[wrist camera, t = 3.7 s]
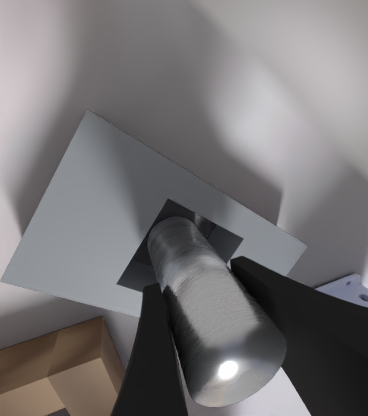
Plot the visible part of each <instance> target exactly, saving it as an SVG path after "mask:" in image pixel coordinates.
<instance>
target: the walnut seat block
mask: <svg viewBox="0 0 368 416" xmlns="http://www.w3.org/2000/svg"><path fill="white" fill-rule="evenodd" d="M124 376H125V371H124V368H123V366H122V363H121V361H120V358H119V356H118V353H117V351H116V348H115V346H114V343H113V340H112V338H111V335H110V333H109V330H108V328H107V325H106V323H105V320H104V318H103V316H100V317H97V318H94V319H91V320H88V321H86V322H83V323H80V324H77V325H74V326H71V327H68V328H65V329H62V330H59V331H56V332H53V333H50V334H47V335H44V336H41V337H38V338H35V339H32V340H29V341H26V342H23V343H20V344H17V345H14V346H11V347H8V348H5V349H2V350H0V416H45V415H48V414H50V413H53V412H55V411H58V410H60V409H63V408H66V409H67V411H68V413H69V414H70V416H110V415H111V412H112V410H113V407H114V404H115V402H116V399H117V397H118V394H119V391H120V388H121V385H122V382H123V379H124Z"/></svg>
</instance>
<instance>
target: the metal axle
mask: <svg viewBox="0 0 368 416" xmlns="http://www.w3.org/2000/svg"><path fill="white" fill-rule="evenodd" d="M147 243H148V250H149V254H150V257H151V261H152V264H153V268H154V271H155V275H156V278H157V282H159V284H160V287H161V290H162V293H163V297H164V301H165V306H166V310H167V314H168V319H169V324H170V328H171V332H172V335H173V339H174V342H175V346H176V349H177V353H178V356H179V360H180V364H181V367H182V371H183V374H184V378H185V381H186V385H187V388H188V392H189V394H190V396H191V398H192V399H193V400H194V401H195V402H197V403H198V404H201V405H203V406H208V407H222V406H227V405H231V404H234V403H237V402H239V401H242V400H244V399H246V398H248V397H250V396H251V395H253V394H255V393H256V392H257V391H259V390H260V389H261V388H263V387H264V386H265V385H266V384H267V383H268V382H269V381H270V380H271V379H272V378H273V377H274V376H275V374H276V373H277V372H278V370H279V368H280V367H281V365H282V363H283V361H284V358H285V355H286V348H287V347H286V340H285V338H284V336H283V334H282V333H281V332H280V330H279V329H278V328H277V327H276V325H275V324H274V323H273V322H272V320H271V319H270V318H269V317H268V315H267V314H266V313H265V312H264V311H263V309H262V308H261V307H260V306H259V304H258V303H257V302H256V301H255V299H254V298H253V297H252V296H251V294H250V293H249V292H248V291H247V289H246V288H245V287H244V286H243V284H242V283H241V282H240V281H239V279H238V278H237V277H236V276H235V274H234V273H233V272H232V271H231V270H230V268H229V267H228V266H227V265H226V263H225V262H224V261H223V260H222V258H221V257H220V256H219V255H218V253H217V252H216V251H215V250H214V248H213V247H212V246H211V245H210V243H209V242H208V241H207V240H206V238H205V237H204V236H203V235H202V233H201V232H200V231H199V230H198V229H197V227H196V226H195V225H194V224H193V223H192V222H191V221H190V220H188V219H186V218H183V217H170V218H167V219H164V220H162V221H161V222H159V223H158V224H157V225H156V226H155V227H154V228H153V229H152V230H151V232H150V234H149V237H148V242H147Z"/></svg>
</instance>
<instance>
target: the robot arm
mask: <svg viewBox="0 0 368 416" xmlns="http://www.w3.org/2000/svg"><path fill="white" fill-rule="evenodd" d="M230 266H231V271H232V272H233V273H234V274H235V276H236V277H237V278H238V279H239V281H240V282H241V283H242V284H243V286H244V287H245V288H246V289H247V291H248V292H249V293H250V294H251V296H252V297H253V298H254V299H255V301H256V302H257V303H258V304H259V306H260V307H261V308H262V309H263V311H264V312H265V313H266V314H267V315H268V317H269V318H270V319H271V320H272V322H273V323H274V324H275V325H276V327H277V328H278V329H279V330H280V332H281V333H282V334H283V336H284V338H285V340H286V347H287V348H286V355H285V358H284V361H283V363H282V365H281V367H282V368H283V370H284V371H285V373H286V374H287V376H288V377H289V379H290V381H291V382H292V384H293V386H294V387H295V389H296V391H297V392H298V394H299V396H300V397H301V399H302V401H303V402H304V404H305V406H306V407H307V409H308V411H309V413H310V414H311V416H368V288H366V287H364V286H363V285H361V284H360V282H361V276H360V275H358V274H352V275H349V276H347V277H344V278H342V279H339V280H336V281H334V282H331V283H329V284H326V285H323V286H321V287H318V288H315V289H313V288H310V287H308V286H306V285H303V284H301V283H298V282H296V281H294V280H292V279H290V278H287V277H285V276H283V275H281V274H279V273H277V272H275V271H273V270H271V269H269V268H267V267H265V266H263V265H261V264H259V263H257V262H255V261H253V260H251V259H249V258H247V257H245V256H239V257H236V258H233V259H230ZM142 293H143V295H142V306H141V313H140V319H139V324H138V329H137V334H136V338H135V342H134V345H133V349H132V353H131V357H130V360H129V364H128V367H127V370H126V373H125V376H124V379H123V382H122V385H121V388H120V391H119V394H118V397H117V399H116V402H115V404H114V407H113V410H112V412H111V415H110V416H188V412H187V407H186V402H185V397H184V391H183V386H182V380H181V375H180V369H179V364H178V359H177V353H176V348H175V342H174V339H173V335H172V332H171V328H170V324H169V319H168V314H167V310H166V306H165V301H164V297H163V293H162V290H161V287H160V284H159V282H158V283H155V284H152V285H148V286H145V287H144V288H143V290H142Z"/></svg>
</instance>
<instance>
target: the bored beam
mask: <svg viewBox="0 0 368 416" xmlns="http://www.w3.org/2000/svg"><path fill="white" fill-rule="evenodd" d="M167 199H170V200H172V201H174V202H176V203H178V204H180V205H182V206H183V207H185V208H187V209H189V210H191V211H193V212H195V213H197V214H198V215H200V216H202V217H204V218H206V219H208V220H210V221H212V222H213V223H215V224H217V225H216V226H215V228H214V229H213V231H212V232H211V234H210V235H209V237H208V239H207V241H208V242H209V243H210V245H211V246H212V247H213V248H214V250H215V251H216V252H217V253H218V255H219V256H220V257H221V258H222V260H223V261H224V262H225V263H226V265H227V266H228V267H229V268H230V270H231V266H230V259H233V258H236V257H239V256H245V257H247V258H249V259H251V260H253V261H255V262H257V263H259V264H261V265H263V266H265V267H267V268H269V269H271V270H273V271H275V272H277V273H279V274H281V275H283V276H285V277H286V275H287V274H288V273H289V271H290V270H291V269H292V267H293V266H294V265H295V263H296V262H297V261H298V259H299V258H300V256H301V255H302V254H303V252H304V251H305V250H306V248H307V247H308V245H306V244H304V243H303V242H301V241H300V240H298V239H296V238H295V237H293V236H292V235H290V234H289V233H287V232H285V231H284V230H282V229H281V228H279V227H277V226H276V225H274V224H273V223H271V222H269V221H268V220H266V219H264V218H263V217H261V216H260V215H258V214H256V213H255V212H253V211H252V210H250V209H248V208H247V207H245V206H243V205H242V204H240V203H239V202H237V201H235V200H234V199H232V198H230V197H229V196H227V195H226V194H224V193H222V192H221V191H219V190H218V189H216V188H214V187H213V186H211V185H209V184H208V183H206V182H205V181H203V180H201V179H200V178H198V177H196V176H195V175H193V174H192V173H190V172H188V171H187V170H185V169H183V168H182V167H180V166H179V165H177V164H175V163H174V162H172V161H171V160H169V159H167V158H166V157H164V156H162V155H161V154H159V153H158V152H156V151H154V150H153V149H151V148H149V147H148V146H146V145H145V144H143V143H141V142H140V141H138V140H137V139H135V138H133V137H132V136H130V135H128V134H127V133H125V132H124V131H122V130H120V129H119V128H117V127H115V126H114V125H112V124H111V123H109V122H107V121H106V120H104V119H103V118H101V117H99V116H98V115H96V114H94V113H93V112H91V111H89V110H87V111H86V113H85V115H84V117H83V119H82V121H81V123H80V124H79V126H78V128H77V130H76V132H75V134H74V136H73V138H72V140H71V142H70V144H69V146H68V148H67V150H66V152H65V154H64V156H63V158H62V160H61V162H60V164H59V166H58V168H57V170H56V172H55V174H54V176H53V178H52V180H51V182H50V184H49V186H48V188H47V190H46V192H45V194H44V195H43V197H42V199H41V201H40V203H39V205H38V207H37V209H36V211H35V213H34V215H33V217H32V219H31V221H30V223H29V225H28V227H27V229H26V231H25V233H24V235H23V237H22V239H21V241H20V243H19V245H18V247H17V249H16V251H15V253H14V255H13V257H12V259H11V261H10V263H9V264H8V266H7V268H6V270H5V272H4V274H3V276H2V278H1V280H0V282H4V283H7V284H11V285H15V286H19V287H23V288H27V289H30V290H34V291H38V292H42V293H46V294H50V295H54V296H57V297H61V298H65V299H69V300H73V301H77V302H81V303H84V304H88V305H92V306H96V307H100V308H104V309H108V310H111V311H115V312H119V313H123V314H127V315H131V316H134V317H138V318H140V313H141V306H142V295H143V293H142V290H143V288H144V287H145V286H148V285H152V284H155V283H158V282H157V278H156V275H155V271H154V268H153V267H151V266H149V265H146V264H143V263H140V262H138V261H135V260H132V257H133V256H134V254H135V252H136V251H137V249H138V247H139V246H140V244H141V242H142V241H143V239H144V237H145V236H146V234H147V232H148V231H149V229H150V227H151V226H152V224H153V222H154V221H155V219H156V217H157V216H158V214H159V213H160V211H161V209H162V208H163V206H164V204H165V203H166V201H167Z"/></svg>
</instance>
